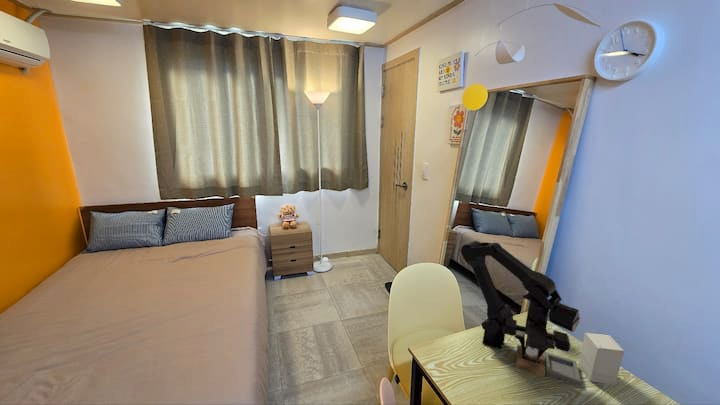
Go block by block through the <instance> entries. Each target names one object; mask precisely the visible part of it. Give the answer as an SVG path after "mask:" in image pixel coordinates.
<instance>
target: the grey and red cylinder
mask: <svg viewBox="0 0 720 405" xmlns="http://www.w3.org/2000/svg"><path fill="white" fill-rule="evenodd" d="M525 338H526V340H525V353H524V356H522V359H525V360H528V361H532V362H535V363H538V361H537V359H538V354H539V349H536V348H533V347H529V346H528V345H527V337H525Z"/></svg>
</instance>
